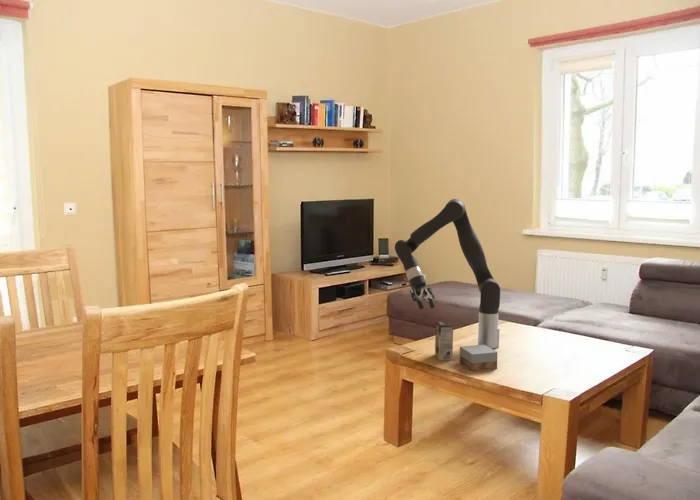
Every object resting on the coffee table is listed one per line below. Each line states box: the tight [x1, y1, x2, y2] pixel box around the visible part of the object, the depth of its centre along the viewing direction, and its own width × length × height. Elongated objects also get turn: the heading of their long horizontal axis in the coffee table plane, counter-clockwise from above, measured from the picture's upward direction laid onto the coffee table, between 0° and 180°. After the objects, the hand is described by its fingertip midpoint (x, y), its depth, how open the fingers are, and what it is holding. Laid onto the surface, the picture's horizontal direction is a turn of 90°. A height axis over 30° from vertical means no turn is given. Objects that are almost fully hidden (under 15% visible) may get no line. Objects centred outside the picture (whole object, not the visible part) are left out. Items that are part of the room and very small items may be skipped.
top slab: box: [459, 344, 499, 363], centre depth 273 cm, size 12×12×4 cm
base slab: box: [459, 355, 498, 372], centre depth 273 cm, size 12×12×4 cm
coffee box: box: [434, 320, 454, 361], centre depth 285 cm, size 9×6×16 cm
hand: (427, 308), depth 295 cm, fingers open, 8 cm apart
